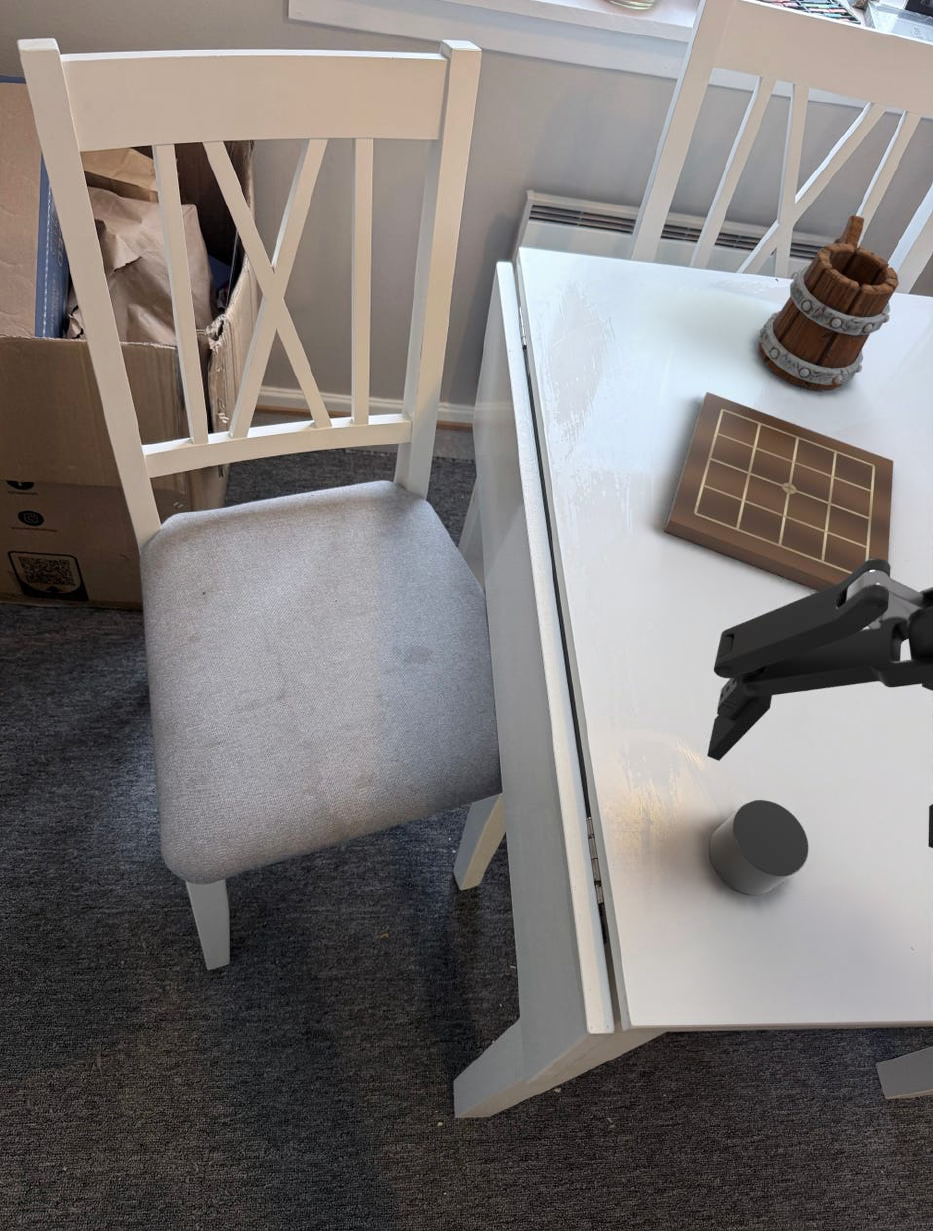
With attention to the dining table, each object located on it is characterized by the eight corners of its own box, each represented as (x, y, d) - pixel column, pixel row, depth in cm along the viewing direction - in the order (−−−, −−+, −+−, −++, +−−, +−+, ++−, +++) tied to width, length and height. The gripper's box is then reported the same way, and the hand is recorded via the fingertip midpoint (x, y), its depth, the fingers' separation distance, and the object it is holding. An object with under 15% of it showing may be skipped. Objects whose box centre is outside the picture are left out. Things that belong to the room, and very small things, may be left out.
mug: (752, 380, 91) (820, 241, 81) (744, 326, 101) (803, 197, 91) (856, 409, 91) (937, 274, 81) (836, 352, 101) (906, 226, 91)
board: (876, 613, 74) (886, 602, 73) (663, 531, 76) (669, 520, 75) (885, 471, 86) (893, 460, 85) (701, 402, 88) (707, 391, 86)
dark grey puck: (795, 871, 59) (824, 851, 55) (744, 909, 56) (771, 891, 53) (745, 809, 61) (770, 786, 58) (694, 843, 59) (717, 822, 55)
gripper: (1392, 612, 34) (1024, 810, 51) (810, 393, 36) (641, 656, 53) (1458, 766, 30) (1031, 927, 47) (790, 509, 31) (613, 755, 49)
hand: (824, 784), depth 50 cm, fingers open, 13 cm apart
